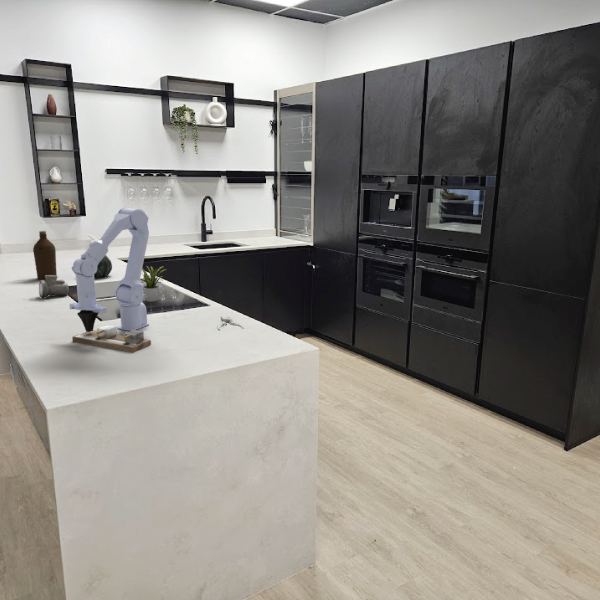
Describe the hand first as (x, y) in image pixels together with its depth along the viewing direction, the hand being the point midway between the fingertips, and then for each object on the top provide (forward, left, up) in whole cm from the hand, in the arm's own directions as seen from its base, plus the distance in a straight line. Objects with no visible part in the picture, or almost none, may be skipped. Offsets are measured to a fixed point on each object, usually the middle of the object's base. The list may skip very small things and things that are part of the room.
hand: (89, 331), depth 183 cm
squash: (-83, -75, -3) cm, 112 cm away
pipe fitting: (-39, -59, -3) cm, 71 cm away
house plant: (-54, -14, -3) cm, 56 cm away
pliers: (-36, +34, -3) cm, 50 cm away
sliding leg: (+1, +8, -1) cm, 8 cm away
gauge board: (+1, +11, -2) cm, 11 cm away
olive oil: (-67, -95, -3) cm, 117 cm away
